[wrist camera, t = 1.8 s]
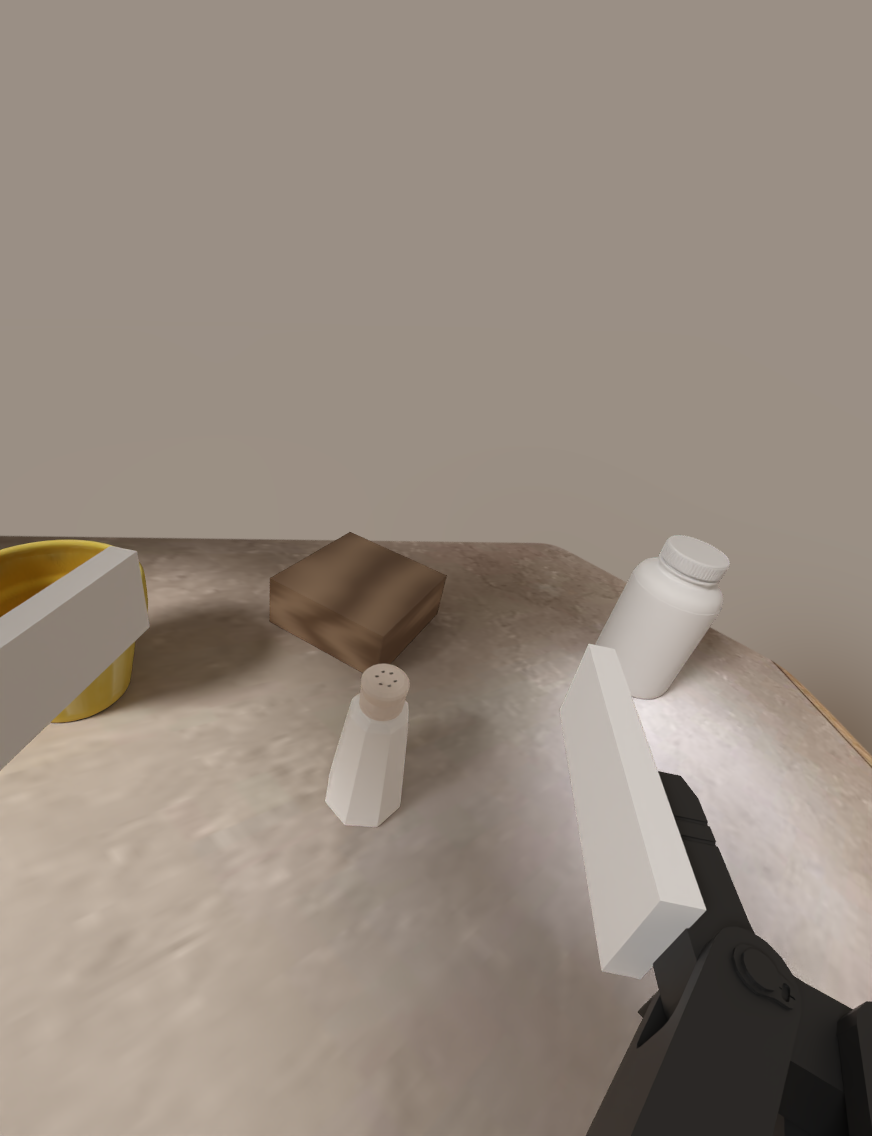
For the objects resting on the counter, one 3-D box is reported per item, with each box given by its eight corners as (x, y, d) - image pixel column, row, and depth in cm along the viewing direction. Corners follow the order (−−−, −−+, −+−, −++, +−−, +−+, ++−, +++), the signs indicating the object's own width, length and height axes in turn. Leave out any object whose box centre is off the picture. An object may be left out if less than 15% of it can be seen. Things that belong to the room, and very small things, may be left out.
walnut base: (269, 621, 45) (270, 578, 42) (345, 569, 54) (350, 532, 52) (375, 679, 41) (383, 636, 39) (437, 613, 51) (446, 575, 48)
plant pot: (150, 627, 41) (134, 529, 36) (170, 715, 34) (153, 611, 29) (-8, 657, 36) (-54, 547, 30) (-23, 770, 29) (-85, 653, 24)
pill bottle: (652, 716, 44) (737, 586, 36) (576, 666, 48) (638, 540, 40) (676, 677, 50) (754, 557, 42) (606, 635, 54) (666, 518, 46)
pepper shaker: (315, 767, 33) (326, 653, 27) (387, 748, 36) (411, 639, 30) (335, 842, 29) (353, 728, 24) (414, 815, 32) (449, 705, 26)
